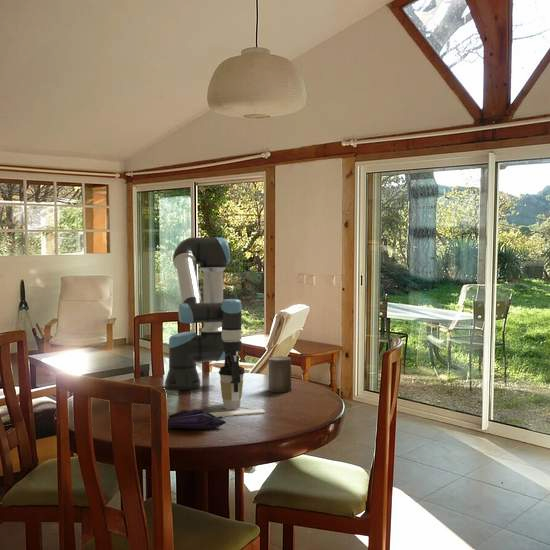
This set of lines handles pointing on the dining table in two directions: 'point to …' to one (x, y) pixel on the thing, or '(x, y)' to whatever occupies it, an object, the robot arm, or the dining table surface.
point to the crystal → (194, 420)
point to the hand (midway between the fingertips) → (231, 396)
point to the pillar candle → (279, 374)
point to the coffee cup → (230, 387)
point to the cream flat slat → (238, 412)
